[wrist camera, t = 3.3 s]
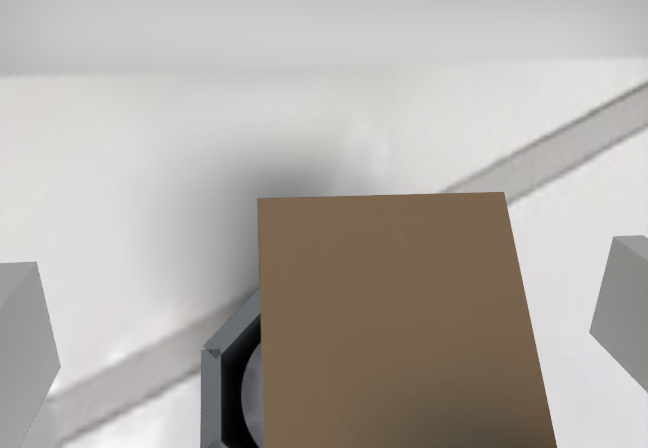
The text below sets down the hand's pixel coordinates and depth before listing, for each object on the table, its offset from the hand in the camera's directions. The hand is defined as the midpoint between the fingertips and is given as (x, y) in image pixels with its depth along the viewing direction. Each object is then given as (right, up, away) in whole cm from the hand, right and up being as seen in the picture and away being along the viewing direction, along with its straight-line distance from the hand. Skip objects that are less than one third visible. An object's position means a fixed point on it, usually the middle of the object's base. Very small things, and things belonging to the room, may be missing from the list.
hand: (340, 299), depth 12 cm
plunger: (-1, -6, +11) cm, 13 cm away
